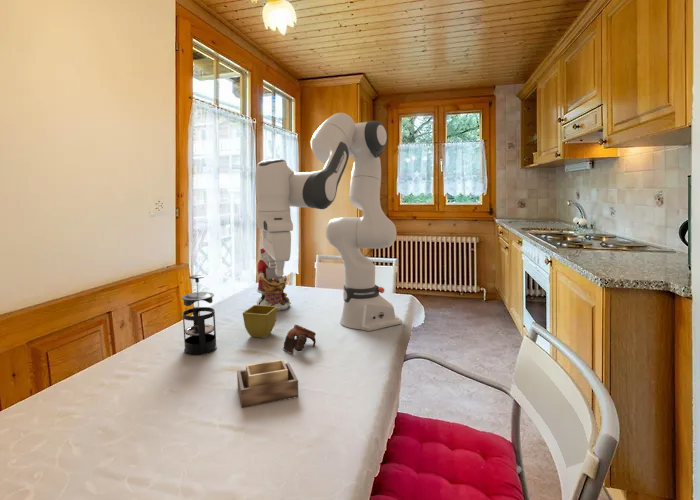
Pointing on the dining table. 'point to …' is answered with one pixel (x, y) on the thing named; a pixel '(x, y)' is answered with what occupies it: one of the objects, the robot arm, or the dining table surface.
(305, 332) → the pottery mug
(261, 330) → the flower pot
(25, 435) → the dining table surface
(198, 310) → the french press
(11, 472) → the dining table surface
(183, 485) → the dining table surface
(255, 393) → the big crate
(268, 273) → the santa figurine
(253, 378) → the small crate
